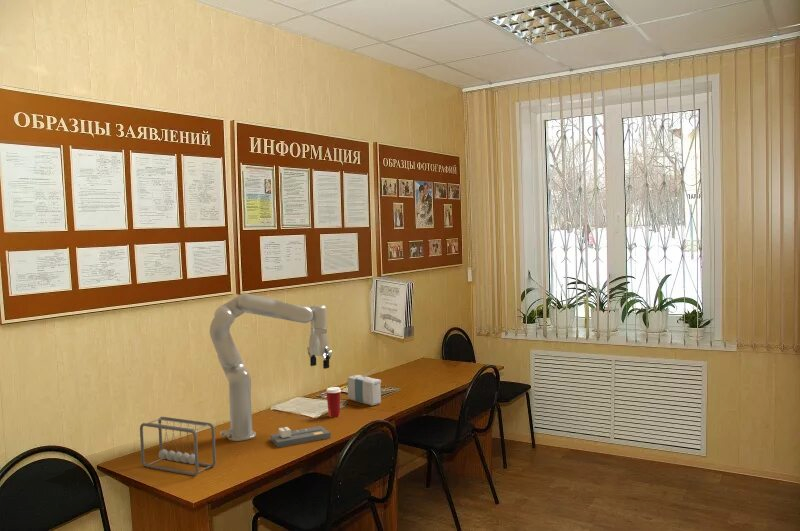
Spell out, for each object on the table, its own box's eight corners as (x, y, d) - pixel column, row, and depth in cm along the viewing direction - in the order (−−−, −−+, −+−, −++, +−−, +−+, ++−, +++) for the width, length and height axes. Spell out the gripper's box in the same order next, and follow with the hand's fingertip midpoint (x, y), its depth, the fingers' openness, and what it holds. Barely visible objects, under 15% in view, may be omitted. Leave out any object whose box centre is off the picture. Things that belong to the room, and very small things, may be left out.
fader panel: (277, 447, 263) (277, 441, 263) (270, 440, 273) (270, 434, 273) (330, 438, 274) (330, 432, 273) (321, 431, 284) (321, 425, 284)
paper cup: (345, 415, 310) (344, 387, 309) (335, 419, 303) (334, 391, 303) (332, 413, 314) (331, 386, 313) (323, 417, 307) (322, 389, 307)
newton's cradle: (141, 466, 246) (138, 422, 245) (161, 457, 255) (159, 415, 254) (197, 477, 233) (195, 430, 232) (216, 467, 242) (214, 423, 241)
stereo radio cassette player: (347, 400, 339) (346, 364, 338) (359, 397, 344) (358, 362, 343) (371, 407, 323) (369, 369, 322) (383, 404, 328) (381, 367, 328)
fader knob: (282, 438, 267) (281, 431, 267) (278, 435, 271) (278, 428, 271) (291, 436, 269) (290, 429, 269) (287, 433, 273) (287, 426, 273)
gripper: (301, 330, 295) (302, 366, 295) (324, 333, 283) (325, 370, 283) (313, 328, 300) (314, 363, 301) (336, 331, 288) (337, 368, 289)
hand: (319, 366), depth 292 cm, fingers open, 9 cm apart
